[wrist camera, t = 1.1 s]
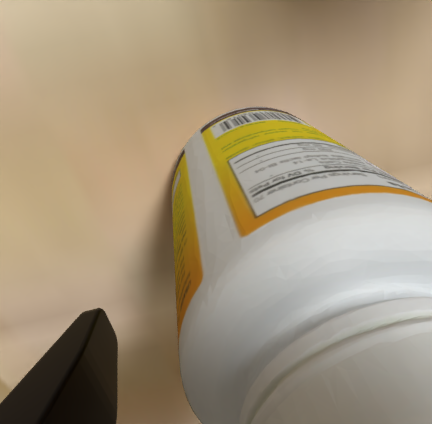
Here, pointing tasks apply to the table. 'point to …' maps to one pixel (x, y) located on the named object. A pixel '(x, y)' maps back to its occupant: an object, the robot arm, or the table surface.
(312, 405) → the supplement bottle
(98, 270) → the table surface
